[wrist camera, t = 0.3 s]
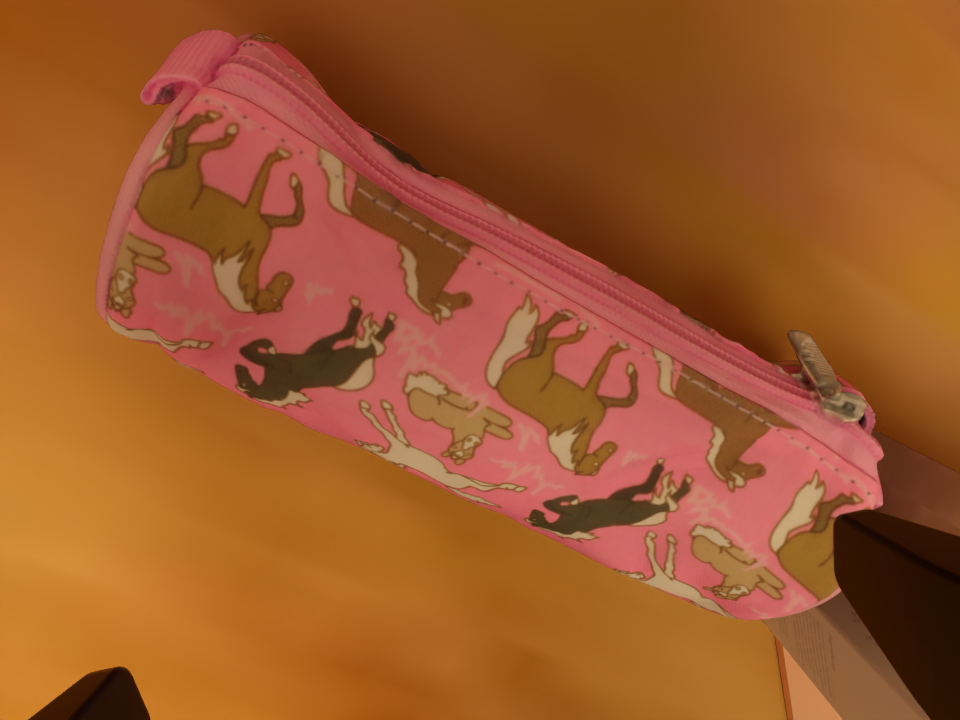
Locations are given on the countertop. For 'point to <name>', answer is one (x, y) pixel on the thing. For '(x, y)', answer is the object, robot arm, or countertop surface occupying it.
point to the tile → (801, 691)
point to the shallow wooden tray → (917, 487)
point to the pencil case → (472, 342)
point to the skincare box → (845, 662)
